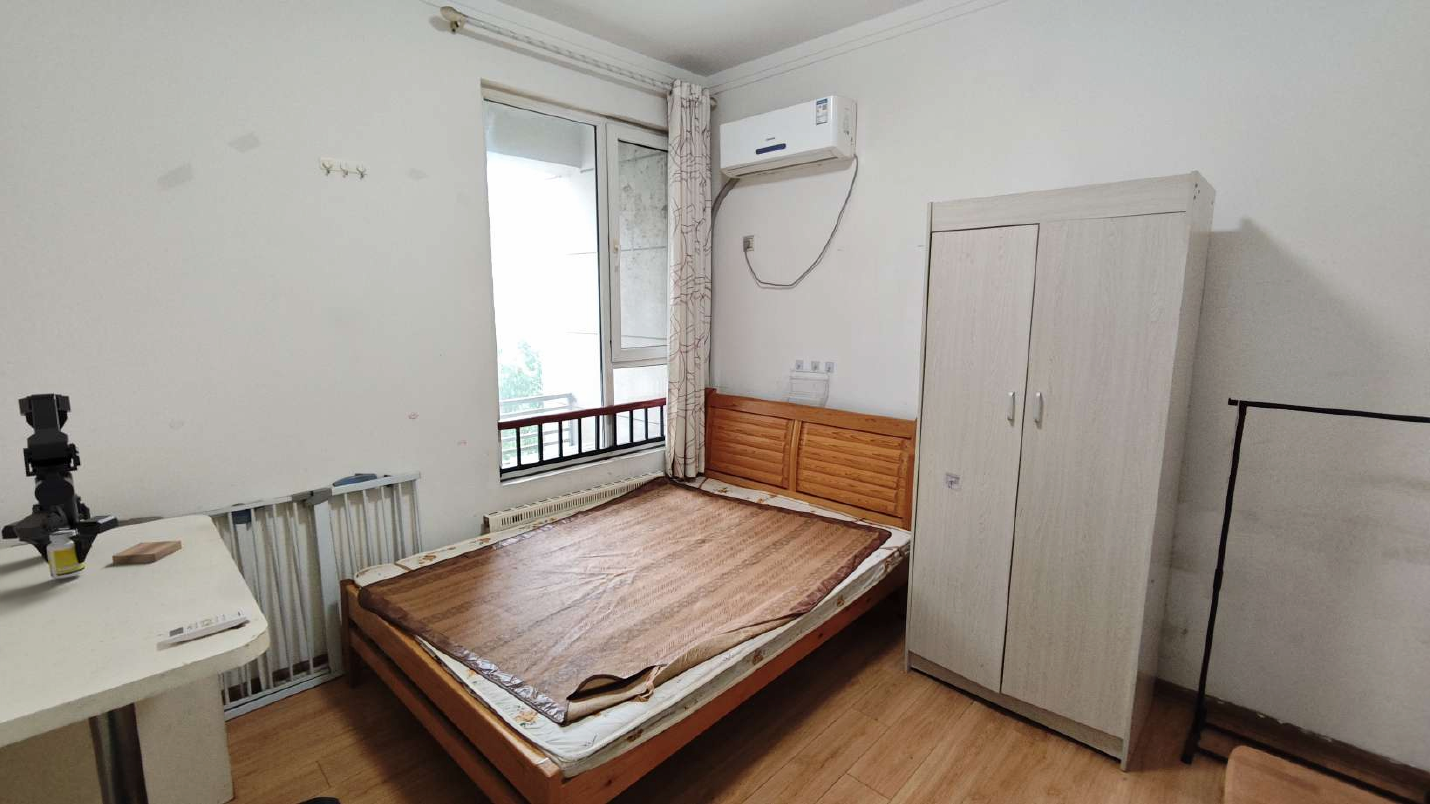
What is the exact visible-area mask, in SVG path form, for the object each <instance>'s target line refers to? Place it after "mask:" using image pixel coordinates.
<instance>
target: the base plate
mask: <svg viewBox="0 0 1430 804" xmlns="http://www.w3.org/2000/svg"><path fill="white" fill-rule="evenodd" d="M180 549H182V540H170V541H169V540H167V541H149V542H140V543H138V544H135V545H133V546H132V547H131V546H130V547H128V548H126V549H125V550H122V551H120V552H118V553H116V554H114V555H112V564H113V565H120V564H121V565H123V564H135V563H137V564H140V563H153V562H154V563H155V562H157V561H160V560H162V559H164V558H166V557H167V556H169V555H172V554H173V553H175V552H177V551H178V550H180ZM159 559H160V560H159Z"/></svg>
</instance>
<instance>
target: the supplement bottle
mask: <svg viewBox="0 0 1430 804" xmlns="http://www.w3.org/2000/svg"><path fill="white" fill-rule="evenodd" d="M74 535H76V533H75V530H67V531H58V532H54V533H51V534H50V535H49V536H50V541H52V543H51V544H49V545H48V546H47V555H48V562H49V564H48V567H49V574H50V577H51V579H54V580H55V579H65V578H71V577H74V576H77V575H79V574H82V573H84V572H85V571H86V565H85V561H84V562H83V563H78V560H77V557H76V551H75V545H74V542H73V541H72V540H70V539H69V537H71V536H74Z"/></svg>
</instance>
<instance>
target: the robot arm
mask: <svg viewBox="0 0 1430 804" xmlns="http://www.w3.org/2000/svg"><path fill="white" fill-rule="evenodd" d="M17 401H18V406H19V407H18V408H19V415H20V416H21V417H25V421H26V423H27V425H29V426H30V427H31V428H32V429H33V433H32V434H31V435H30V436H29V437H27V438H26V446H27V447H25V448H22V450H23V452H22V453H23V460H24V468H25V475H26V477H34V484H35V486H34V498H35V500H36V501H37V503H35V504H32V507H31V509H32V511H31V514H29V515H28V516H25V517H24V518H22V519H21V520H18V521H15V522H12V523H9V524H6V525H4V527H2V529H1V532H0V533H1V539H2V540H12V539H13V540H14V539H18V541H19V542H23V543H26V544H30V545H32V546H33V547H34V548H35V549H36V550H37V551H38V553H39V554H40V555H41V558H43V559H44V561H45V562H46V563H47V564H48V565H49V562H48V555H47V546H48V545H49V544H51V543H52V541H50V536H49V535H50V534H51V533H54V532H58V531H67V530H75V533H76V535H74V536H71V537H69V539H70V540H72V541H73V542H74V545H75V551H76V557H77V560H78V563H83V562H84V563H85V561H86V559H87V556H88V554H89V552H90V549H91V548H93V544H94V542H95V540H96V539H97V537H98V535H99V534H102V533H105V532H108V531H110V530H112V529H115V528H117V527H119V520H118V518H117V517H116V516H114V515H113V514H112V515H111V514H110V515H95V516H92V517H91V512H90V511H91V510H90V507H88V506H87V505H85V504H86V503H85V502H82V503H81V501H82V498H81V497H82V496H80V495H78V494H77V493H76V491H75V485H74V477H73V473H72V472H75V471H76V472H77V471H78V467H81V465H82V464H81V458H80V450H79V447H78V446H76V443H74V442H71V443H70V440H69V434H67V433H66V432H63V431H62V429H63V427H64V426H65V424H66V422H67V421H68V420H69V417H68V415H69V414H68V413H72V410H71V403H70V402H71V401H70V396H68V395H62V393H61V394H59V393H51V392H50V393H37V394H30V395H28V396H25V397H23V398H18V400H17ZM72 464H73V465H72ZM30 468H31V469H30ZM30 470H31V471H30Z"/></svg>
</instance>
